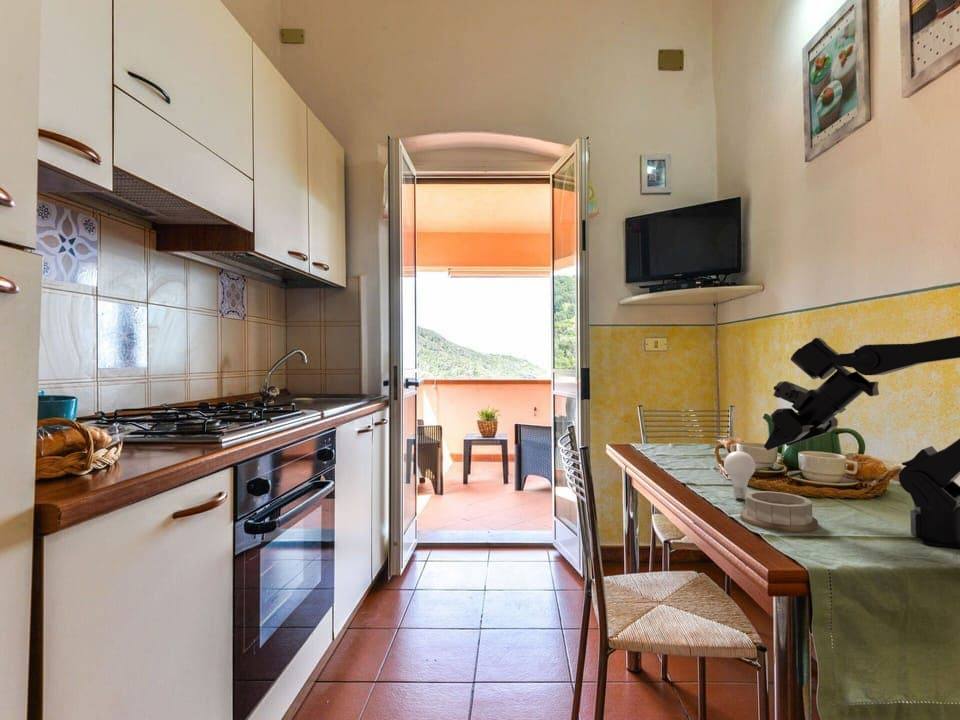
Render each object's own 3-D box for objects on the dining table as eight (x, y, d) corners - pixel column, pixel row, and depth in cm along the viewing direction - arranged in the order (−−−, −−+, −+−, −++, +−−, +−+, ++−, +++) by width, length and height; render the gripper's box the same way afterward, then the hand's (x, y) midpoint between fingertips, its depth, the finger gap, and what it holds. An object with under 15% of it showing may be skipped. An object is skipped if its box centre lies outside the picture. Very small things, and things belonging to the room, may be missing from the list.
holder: (811, 516, 101) (811, 493, 101) (824, 536, 89) (823, 510, 89) (739, 508, 106) (738, 487, 106) (742, 526, 95) (741, 503, 95)
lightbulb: (718, 497, 116) (717, 449, 116) (738, 494, 118) (738, 448, 118) (741, 504, 110) (740, 454, 110) (762, 501, 112) (761, 452, 112)
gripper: (818, 367, 109) (767, 415, 118) (779, 368, 98) (726, 421, 107) (863, 404, 102) (806, 452, 111) (827, 410, 91) (766, 463, 100)
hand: (776, 446), depth 107 cm, fingers open, 9 cm apart
